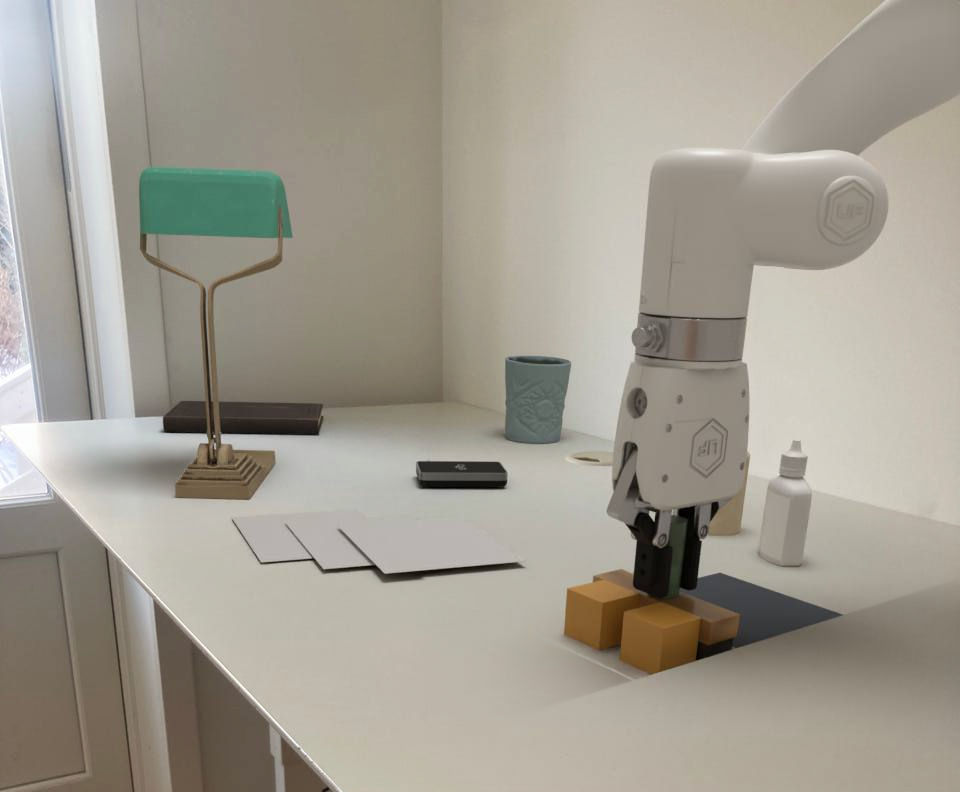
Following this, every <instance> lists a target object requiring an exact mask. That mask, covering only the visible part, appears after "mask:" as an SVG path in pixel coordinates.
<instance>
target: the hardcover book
mask: <svg viewBox="0 0 960 792" xmlns="http://www.w3.org/2000/svg"><path fill="white" fill-rule="evenodd" d="M211 404H212V420H213V432H215V424H214V408H213V400H211ZM323 407H324V403H311V402H310V403H308V402H266V401H265V402H264V401H263V402H259V401H256V402H255V401H219V417H220V432H221V434H259V435H261V434H263V435H265V434H266V435H315V436H316V435H317V436H319V435H320V431H321V427H322V424H323V421H324V415H323V414H322V411H323ZM162 427H163V432H164V433H201V434H203V433H204V434H207V413H206V400H180V401H179V402H178V403H177V404H176V405H175V406H174V407H173V408H171V409H170V410H169V411H168V412H167V413H166V414H165V415H164V416H162Z"/></svg>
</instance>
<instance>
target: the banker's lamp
mask: <svg viewBox="0 0 960 792" xmlns="http://www.w3.org/2000/svg"><path fill="white" fill-rule="evenodd" d="M138 201H139V202H138V203H139V204H138V205H139V206H138V207H139V251H140V252H141V254H142V256H143V257H144V259H145V260H146V261H147V262H148V263H149V264H151V265H153V266H154V267H158V269H162V270H165V271H167V272H170V273H171V274H174V275H176V276H178V277H181V278H183V279H186V280H187V281H188V280H189V281H191V282H193V283H195V284H197V285H198V286H199V317H200V318H199V319H200V333H201V348H202V365H203V366H202V367H203V381H204V396H205V397H204V398H205V401H206V413H207V433H206V438H207V441H208V442H207V443H205V442H204V443H203V442H200V443H199V444H198V447H197V451H196V452H197V454H196V457H195V458H194V459H193V460H192V461H191V462H190V463H189V464H188V465H187V466H186V467H184V470H183V472H182V473H181V476H180V477H179V478H178V479H177V482H175V483H174V491H175V498H177V499H178V498H179V499H180V498H181V499H183V498H184V499H185V498H186V499H221V500H222V499H224V500H225V499H226V500H229V499H230V500H250V499H251V498H252V497H253V496H254V495H255V493H256V491H257V490H258V489H259V487H260V486H261V484H262V483H263V482H264V480H265V479H266V477H267V476H268V475H269V474H270V472H271V471H272V469H273V468H274V467H275V465H276V451H275V450H264V449H263V450H261V449H234V447H233V445H232V444H231V443H222V433H221V432H220V417H219V402H220V400H219V385H218V369H217V367H218V366H217V353H216V337H215V319H214V318H215V317H214V294H215V290H216V289H217V288H218V287H220V286H221V285H223V284H226V283H230V282H233V281H236V280H239V279H243V278H246V277H250V276H252V275H255V274H259V273H262V272H265V271H268V270H271V269H274V268H276V267H277V266H279V265H280V264H281V263H282V262H283V240H284V239H293V231H292V225H291V224H292V223H291V217H290V212H289V204H288V198H287V193H286V186H285V183H284V181H283V179H282V177H281V176H280V175H279V174H277V173H274V172H272V171H269V170H252V169H251V170H249V169H228V168H227V169H224V168H219V169H218V168H198V167H197V168H196V167H194V168H193V167H173V166H172V167H171V166H148V167H146V168H144V169H143V170H142V171H141V174H140V176H139V183H138ZM148 235H163V236H164V235H167V236H191V237H192V236H193V237H194V236H195V237H222V238H223V237H224V238H248V239H249V238H253V239H254V238H255V239H277V253H275V255H274V256H273V257H271V258H268V259H265V260H263V261H260V262H258V263H255V264H252V265H250V266H247V267H244V268H242V269H240V270H236V271H234V272H231V273H228V274H226V275H223V276H221V277H218V278H216V279H214V280H213V281H211V283H210V284H209V286H208V289H206V287H205V285H204V284H203V283H202V282H201V281H200V280H198V279H197V278H196V277H194V276H192V275H190V274H188V273H186V272H184V271H182V270H180V269H178V268H177V267H174V266H172V265H170V264H168V263H167V262H165V261H162V260H161V259H158V258H156V257H154V256H153V255H151V254H149V253H148V252H147V241H148V240H147V239H148V238H147V236H148ZM206 290H207V291H206ZM207 324H208V325H207ZM207 326H208V328H207ZM208 341H209V343H208ZM208 344H209V345H208ZM209 358H210V359H209ZM210 375H211V376H210ZM211 401H213V408H214V424H215V432H213V420H212V404H211Z"/></svg>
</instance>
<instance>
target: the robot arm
mask: <svg viewBox="0 0 960 792" xmlns="http://www.w3.org/2000/svg"><path fill="white" fill-rule="evenodd" d="M958 95H960V0H883V2H882V3H881V4H879V5H878V6H877V7H876V8H875V9H874V10H873V11H871V12H870V13H869V14H868V15H867V16H866V17H865V18H863V19H862V20H861V21H860V22H859V23H858V24H857V25H856V26H855V27H854V28H852V30H851V31H850V32H849V33H848V34H846V35H845V37H843V39H841V41H839V42H838V43H837V44H836V45H835V46H834V47H833V48H832V49H831V50H829V52H827V54H825V55H824V56H823V57H822V58H821V59H820V60H819V61H818V62H816V63H815V64H814V65H813V66H812V67H810V69H809V70H808V71H806V73H805V74H803V76H802V77H800V78H799V80H798V81H796V82H795V83H794V84H793V86H792V87H790V89H789V90H787V92H786V93H785V94H784V95H783V96H782V97H781V98H780V99H779V100H778V101H777V103H776V104H774V106H773V107H772V108H771V110H770V111H769V112H768V114H766V116H765V117H764V119H763V120H762V121H761V122H760V123H759V125H758V126H757V128H756V129H755V130H754V131H753V133H751V135H750V137H749V138H748V139H747V140H746V142H745V143H744V144H743V146H742V147H741V148H740V149H737V148H727V147H726V148H725V147H682V148H675V149H671V150H666V151H665V152H663V153H661V154H660V155H659V156H658V157H657V158H656V160H655V161H654V163H653V165H652V167H651V170H650V176H649V183H648V194H647V208H646V219H645V229H644V230H645V232H644V233H645V234H644V244H643V254H642V255H643V256H642V267H641V269H642V270H641V278H640V279H641V282H640V293H639V303H638V304H639V305H638V314H637V324H636V328H634V329H633V331H632V333H631V343H632V344H633V346H634V347H635V348H634V352H635V353H634V361H631V362H630V363H629V368H628V371H627V375H626V379H625V383H624V387H623V392H622V395H621V401H620V406H619V412H618V417H617V422H616V423H617V424H616V429H615V436H614V437H615V438H614V446H613V455H612V466H611V467H612V468H611V484H612V491H613V493H612V494H611V498H610V500H609V502H608V505H607V507H606V514H607V516H609V517H611V518H612V519H615V520H617V521H618V522H621V523H623V524H624V525H625V526H626V527H627V528H628V530H629V532H630V537H631V539H633V540H635V541H636V542H635V543H636V544H635V555H634V566H633V574H634V576H633V586H634V588H635V589H637V590H640V591H642V592H645V593H648V594H650V595H653V596H655V597H658V598H662V597H666V596H667V595H668V592H669V583H670V574H671V564H672V555H673V547H671V546H668V545H666V544H667V542H668V538H669V530H670V523H671V515H677V516H681V517H684V518H686V519H687V520H688V523H687V532H686V540H685V549H684V557H683V566H682V574H681V583H680V588H683V589H685V590H688V591H690V590H694V589H696V587H697V580H698V578H699V572H700V561H701V554H702V553H701V552H702V545H703V540H705V539H706V538H707V537H708V533H709V526H710V522H711V520H712V519H713V517H714V516H715V515H716V513H717V512H718V509H720V508H721V507H722V506H724V505H725V504H726V503H727V502H728V501H730V500H731V499H732V498H733V496H735V495H736V494H737V493H739V492H740V490H741V489H742V486H743V482H744V477H745V469H746V459H747V451H748V446H749V433H750V432H749V431H750V429H749V428H750V385H749V384H750V381H749V379H750V378H749V371H748V363H746V362H743V357H744V356H743V355H744V349H745V339H746V332H747V322H748V314H749V313H748V312H749V306H750V297H751V290H752V281H753V274H754V266H758V267H775V268H776V267H777V268H784V269H789V270H802V271H803V270H804V271H824V270H831V269H836V268H839V267H842V266H844V265H847V264H849V263H851V262H853V261H855V260H856V259H858V258H859V257H861V256H863V255H864V254H865V253H866V252H867V251H868V250H869V249H870V248H871V247H872V246H873V245H874V244H875V242H876V241H877V240H878V238H879V237H880V236H881V234H882V231H883V229H884V227H885V224H886V222H887V218H888V214H889V207H890V206H889V194H888V189H887V185H886V183H885V181H884V178H883V177H882V175H881V174H880V172H879V171H878V170H877V168H876V167H875V166H873V164H872V163H870V162H869V161H867V160H866V159H865V158H863V157H861V156H859V155H860V154H862V153H863V152H864V151H865V150H867V149H868V148H869V147H870V146H872V145H873V144H874V143H876V142H877V141H878V140H880V139H881V138H883V137H884V136H886V135H887V134H889V133H890V132H892V131H893V130H896V129H898V128H899V127H901V126H903V125H904V124H906V123H909V122H910V121H911V120H913V119H916V118H918V117H919V116H922V115H925V114H926V113H928V112H931V111H932V110H934V109H936V108H938V107H940V106H942V105H943V104H945V103H947V102H949V101H951V100H953V99H954V98H956V97H958ZM650 512H653V513H654V519H653V518H652V517H651V515H650Z"/></svg>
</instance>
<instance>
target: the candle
mask: <svg viewBox="0 0 960 792" xmlns="http://www.w3.org/2000/svg"><path fill="white" fill-rule="evenodd" d="M750 461H751V454H750V452H749V451H748V450H747V459H746V469H745V477H744V482H743V486H742V489H741V490H740V492H739V493H737V494H736V495H735V496H733V498H732V499H731V500H730V501H728V502H727V503H726V504H725V505H724V506H722V507H721V508H720V509H718V512H717V513H716V515H715V516H714V517H713V519H712V520H711V522H710V526H709V533H708V535H709V536H719V537H720V536H721V537H723V536H724V537H725V536H726V537H727V536H728V537H729V536H734V535H738V534H739V533H740V532H741V527H742V520H743V515H744V514H743V513H744V505H745V498H746V490H747V482H748V475H749V468H750ZM708 535H707V536H708Z"/></svg>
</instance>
